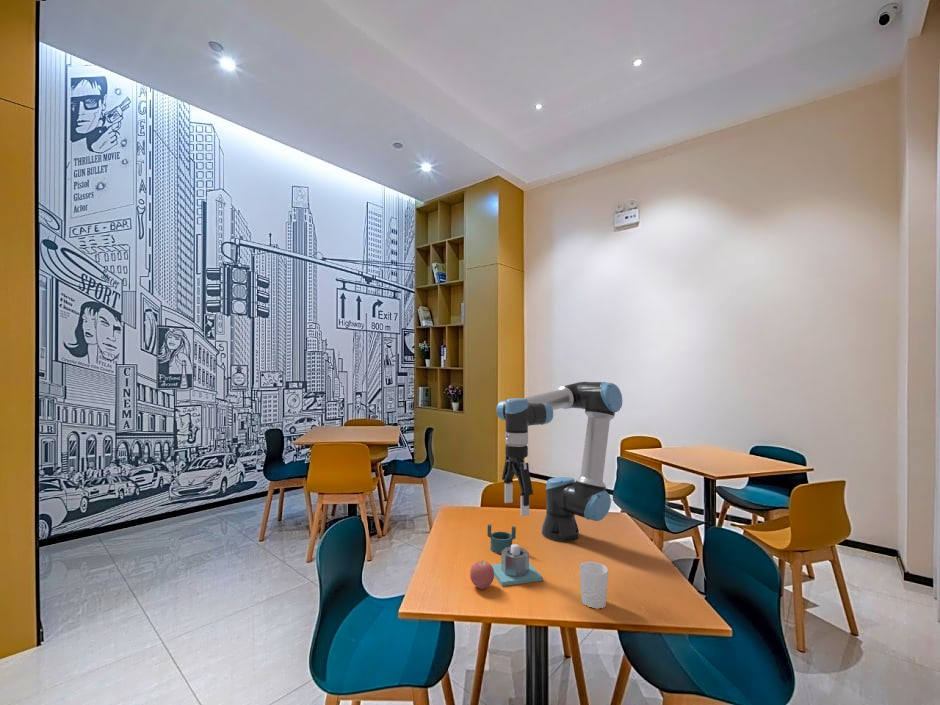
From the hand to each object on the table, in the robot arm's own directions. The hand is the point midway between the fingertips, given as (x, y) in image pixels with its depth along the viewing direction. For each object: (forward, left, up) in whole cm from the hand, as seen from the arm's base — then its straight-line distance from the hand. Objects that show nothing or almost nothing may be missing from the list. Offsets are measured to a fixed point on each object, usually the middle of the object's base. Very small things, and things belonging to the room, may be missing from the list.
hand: (516, 508), depth 137 cm
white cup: (-15, +22, -22) cm, 34 cm away
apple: (+13, +5, -22) cm, 26 cm away
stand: (0, 0, -21) cm, 21 cm away
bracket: (-3, -20, -22) cm, 29 cm away
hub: (0, 0, -20) cm, 20 cm away
